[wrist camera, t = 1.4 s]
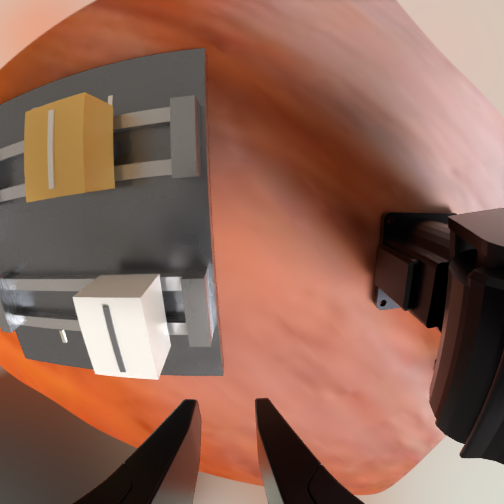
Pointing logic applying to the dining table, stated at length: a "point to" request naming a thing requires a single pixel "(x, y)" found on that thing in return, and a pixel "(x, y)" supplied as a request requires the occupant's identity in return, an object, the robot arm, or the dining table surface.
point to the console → (117, 215)
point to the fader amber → (68, 148)
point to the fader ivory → (124, 325)
